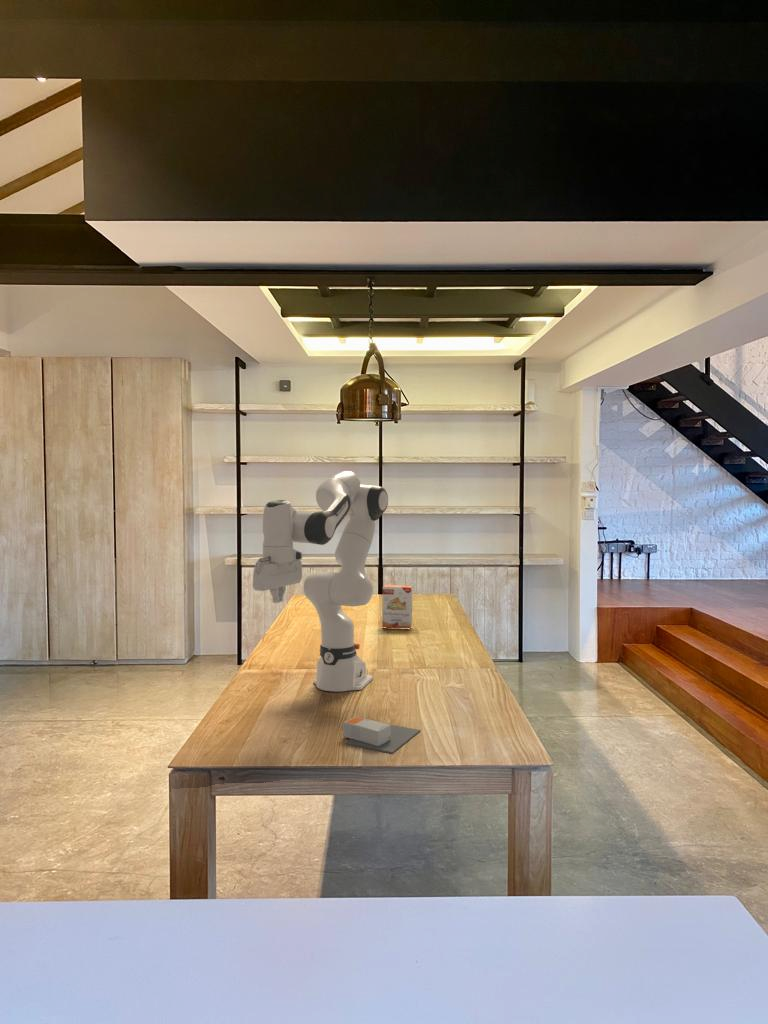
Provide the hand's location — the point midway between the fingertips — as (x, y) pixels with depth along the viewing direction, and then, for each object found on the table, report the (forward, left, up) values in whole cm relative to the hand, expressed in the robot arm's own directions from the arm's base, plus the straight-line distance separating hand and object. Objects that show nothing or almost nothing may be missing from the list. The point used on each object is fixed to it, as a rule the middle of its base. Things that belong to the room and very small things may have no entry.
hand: (278, 602), depth 200 cm
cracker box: (-132, -23, -34) cm, 138 cm away
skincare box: (+4, +26, -32) cm, 41 cm away
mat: (+1, +35, -34) cm, 49 cm away
